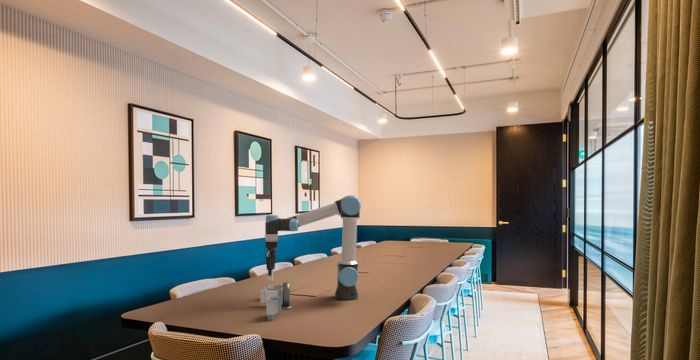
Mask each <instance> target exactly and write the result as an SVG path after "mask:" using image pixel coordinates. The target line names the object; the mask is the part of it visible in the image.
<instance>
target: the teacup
mask: <svg viewBox="0 0 700 360" xmlns="http://www.w3.org/2000/svg"><path fill="white" fill-rule="evenodd" d="M262 289H268V290H275V291H278V290H279V289H283V284H271V285H268V286H264V287H263V288H262Z"/></svg>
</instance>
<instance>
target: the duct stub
mask: <svg viewBox="0 0 700 360" xmlns="http://www.w3.org/2000/svg"><path fill="white" fill-rule="evenodd" d="M265 304H266V305H265V308H266V309H265V310H266V313H265V315H266V316H267V321H272V322H273V321H275V320H276V314H277V313H278V312H281V311H282V309H281V297H271V300H270V301H268V302H265Z"/></svg>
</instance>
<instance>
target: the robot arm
mask: <svg viewBox="0 0 700 360" xmlns="http://www.w3.org/2000/svg"><path fill="white" fill-rule="evenodd" d="M361 207H362V203H361V200H360V199H359V198H358V197H357V196H355V195H352V194H350V195H346V196H344V197H342V198H340V199H338V200H334V203H331V204H327V205H324V206H321V207H319V208H315V209H312V210H308V211H306V212H302V213H300V214H296V215H294V216H289V217H287V218H280V217H279V215H277V214H267V215H266V216H265V222H264V223H265V229H264V231H265V232H264V233H265V234H264V238H265V241H264V248H265V249H267V250H266V253H265V254H264V255H265V264H266V266H265V267H266V270H267V281H268V282H273V281H274V270H275V269H276V268H275V267H276V257H277V254H278V252H277V251H276V249H277V248H278V247H279V246H278V244H279V243H278V240H279V232H297V231H298V230H299V227H303V226H306V225H310V224H312V223H316V222H318V221H322V220H325V219H328V218H331V217H335V216H340V218H341V219H342V231H341V232H342V237H341V238H342V239H341V241H342V242H341V260H338V261H337V265H336V266H337V268H336V269H337V272H336V274H337V276H336V277H337V279H336V280H337V285H336V289H335V291H334V299H337V300H341V301H352V300H356V299H359V292H358V289H357V285H356V284H357V282H358V281H359V272H358V271H359V262H358V261H357V257H356V256H357V230H358V229H357V228H358V227H357V226H358V220H359V219H360V216H361V215H360V214H361V213H360V212H361Z"/></svg>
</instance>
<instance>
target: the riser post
mask: <svg viewBox="0 0 700 360" xmlns="http://www.w3.org/2000/svg"><path fill="white" fill-rule="evenodd" d="M290 284H291V283H290V282H288V281H287V282H286V281H285V282H282V285H283V305H282V306H281V310H291V309H293V308H294V305H293V304H290V303H291V301H290V300H291V299H290V298H291V297H290V295H291V285H290Z"/></svg>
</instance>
